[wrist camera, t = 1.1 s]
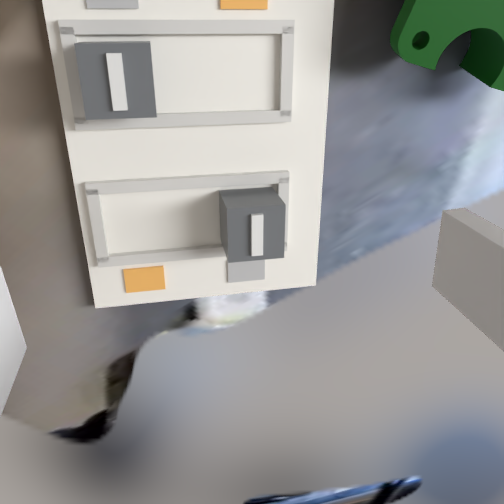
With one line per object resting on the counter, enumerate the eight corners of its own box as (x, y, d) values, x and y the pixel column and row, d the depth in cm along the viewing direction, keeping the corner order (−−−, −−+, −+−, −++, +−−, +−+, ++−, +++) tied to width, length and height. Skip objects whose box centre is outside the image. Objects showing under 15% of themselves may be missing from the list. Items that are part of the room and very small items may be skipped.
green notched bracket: (370, 28, 37) (364, 46, 29) (407, -59, 33) (409, -63, 26) (514, 83, 36) (545, 116, 29) (567, 0, 33) (616, 14, 25)
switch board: (36, -54, 27) (29, -59, 26) (331, -46, 30) (340, -50, 29) (96, 301, 37) (94, 312, 36) (312, 279, 40) (317, 288, 39)
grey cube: (218, 190, 34) (227, 210, 30) (271, 186, 35) (286, 206, 31) (220, 239, 36) (229, 264, 32) (271, 235, 37) (285, 259, 33)
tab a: (83, 41, 28) (73, 43, 25) (150, 41, 29) (150, 42, 25) (93, 109, 30) (85, 120, 26) (155, 107, 31) (156, 118, 27)
